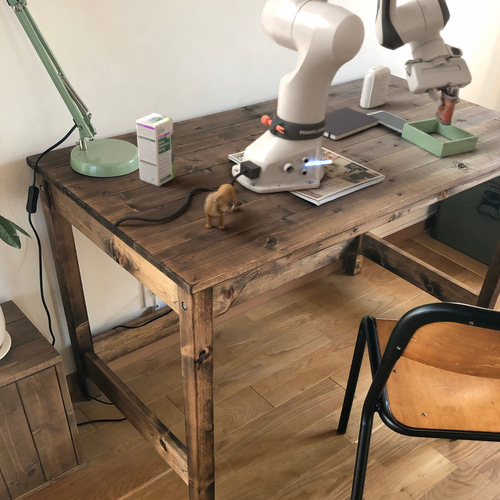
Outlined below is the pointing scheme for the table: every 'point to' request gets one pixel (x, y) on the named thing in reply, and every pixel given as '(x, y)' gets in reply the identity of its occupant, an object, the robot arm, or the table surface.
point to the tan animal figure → (219, 204)
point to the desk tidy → (418, 136)
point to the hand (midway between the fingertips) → (448, 104)
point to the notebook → (347, 123)
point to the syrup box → (155, 148)
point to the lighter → (447, 105)
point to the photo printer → (375, 87)
